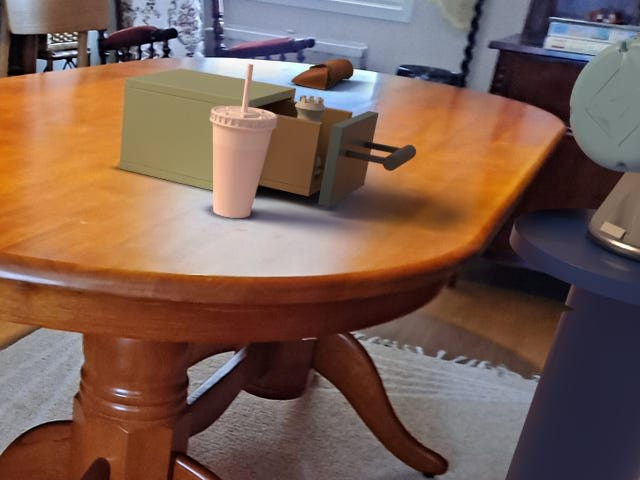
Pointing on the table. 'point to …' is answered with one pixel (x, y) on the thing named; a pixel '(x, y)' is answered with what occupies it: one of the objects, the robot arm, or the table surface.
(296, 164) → the drawer
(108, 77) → the table surface
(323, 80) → the sunglasses case
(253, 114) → the smoothie
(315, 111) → the rook chess piece
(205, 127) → the cabinet
